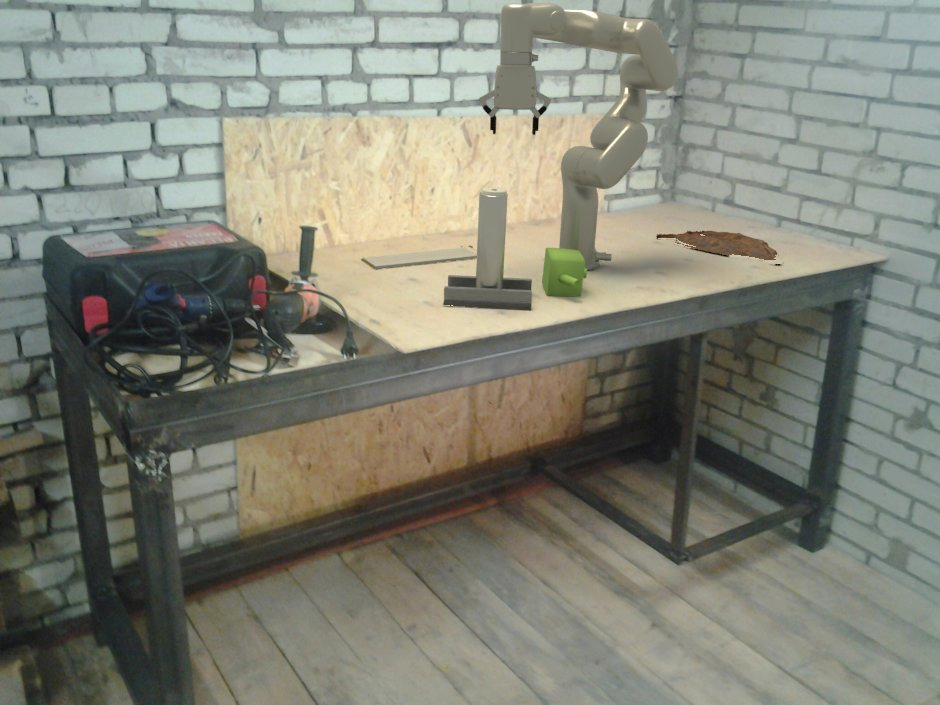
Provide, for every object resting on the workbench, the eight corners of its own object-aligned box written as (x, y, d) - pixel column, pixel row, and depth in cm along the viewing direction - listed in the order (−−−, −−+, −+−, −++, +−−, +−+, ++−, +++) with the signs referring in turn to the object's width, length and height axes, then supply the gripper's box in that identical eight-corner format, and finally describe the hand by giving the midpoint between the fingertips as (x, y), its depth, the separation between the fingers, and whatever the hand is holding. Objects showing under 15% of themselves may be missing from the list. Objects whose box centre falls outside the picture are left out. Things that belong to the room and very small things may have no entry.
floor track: (530, 293, 211) (531, 277, 210) (530, 310, 199) (531, 293, 198) (448, 289, 212) (449, 273, 211) (443, 306, 200) (443, 289, 199)
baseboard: (359, 260, 237) (375, 271, 228) (359, 250, 236) (375, 261, 227) (460, 250, 251) (480, 260, 241) (460, 240, 250) (480, 250, 240)
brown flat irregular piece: (653, 246, 270) (654, 230, 268) (717, 238, 284) (719, 222, 283) (756, 270, 238) (758, 252, 236) (822, 259, 252) (824, 242, 251)
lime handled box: (590, 304, 206) (595, 266, 203) (548, 302, 206) (553, 263, 202) (579, 281, 223) (583, 245, 219) (540, 279, 222) (544, 243, 219)
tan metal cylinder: (485, 289, 210) (490, 185, 201) (507, 294, 206) (513, 189, 197) (469, 295, 205) (473, 189, 196) (492, 301, 201) (497, 193, 192)
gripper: (552, 59, 210) (548, 132, 216) (480, 58, 210) (479, 131, 216) (553, 61, 203) (550, 136, 209) (479, 60, 203) (478, 135, 209)
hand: (514, 133), depth 213 cm, fingers open, 9 cm apart
